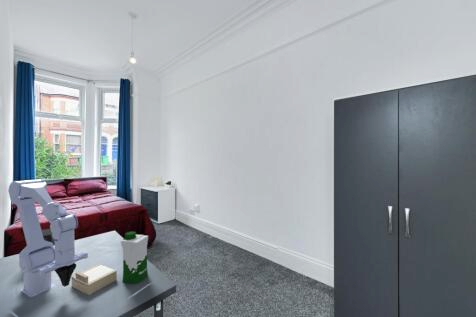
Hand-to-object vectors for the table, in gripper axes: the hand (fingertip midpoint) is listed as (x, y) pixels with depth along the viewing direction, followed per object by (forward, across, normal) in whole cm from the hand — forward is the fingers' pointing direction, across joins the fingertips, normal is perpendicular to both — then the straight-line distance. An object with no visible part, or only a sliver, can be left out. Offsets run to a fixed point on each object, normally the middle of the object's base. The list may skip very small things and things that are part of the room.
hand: (65, 285), depth 80 cm
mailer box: (+5, +10, 0) cm, 12 cm away
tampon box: (+6, +9, +44) cm, 45 cm away
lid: (+1, +10, 0) cm, 10 cm away
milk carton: (+6, +20, -12) cm, 24 cm away
